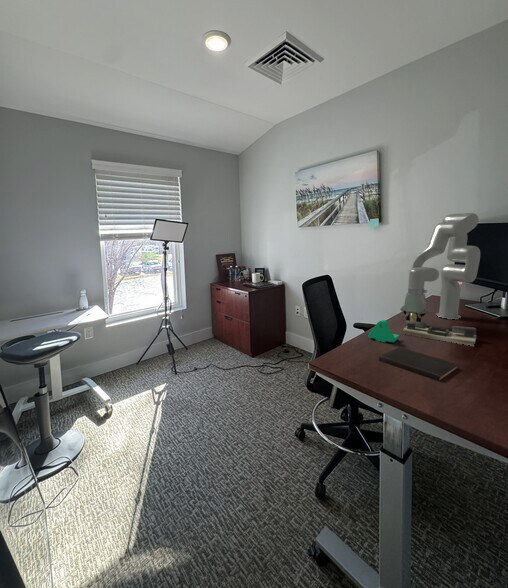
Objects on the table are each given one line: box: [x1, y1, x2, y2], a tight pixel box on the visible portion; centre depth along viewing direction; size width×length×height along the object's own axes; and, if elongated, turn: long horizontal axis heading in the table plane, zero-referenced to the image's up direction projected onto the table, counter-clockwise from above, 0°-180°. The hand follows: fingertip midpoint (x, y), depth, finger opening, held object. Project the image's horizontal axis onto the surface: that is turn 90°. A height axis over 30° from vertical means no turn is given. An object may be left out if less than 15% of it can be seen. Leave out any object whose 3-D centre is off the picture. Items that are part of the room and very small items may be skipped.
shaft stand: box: [401, 319, 477, 347], centre depth 148 cm, size 11×30×6 cm, turn 50°
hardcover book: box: [378, 346, 459, 382], centre depth 119 cm, size 16×23×2 cm
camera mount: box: [367, 319, 400, 343], centre depth 146 cm, size 12×8×10 cm, turn 48°
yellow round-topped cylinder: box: [409, 312, 418, 322], centre depth 167 cm, size 5×4×7 cm
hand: (413, 323), depth 167 cm, fingers closed on yellow round-topped cylinder, 4 cm apart
